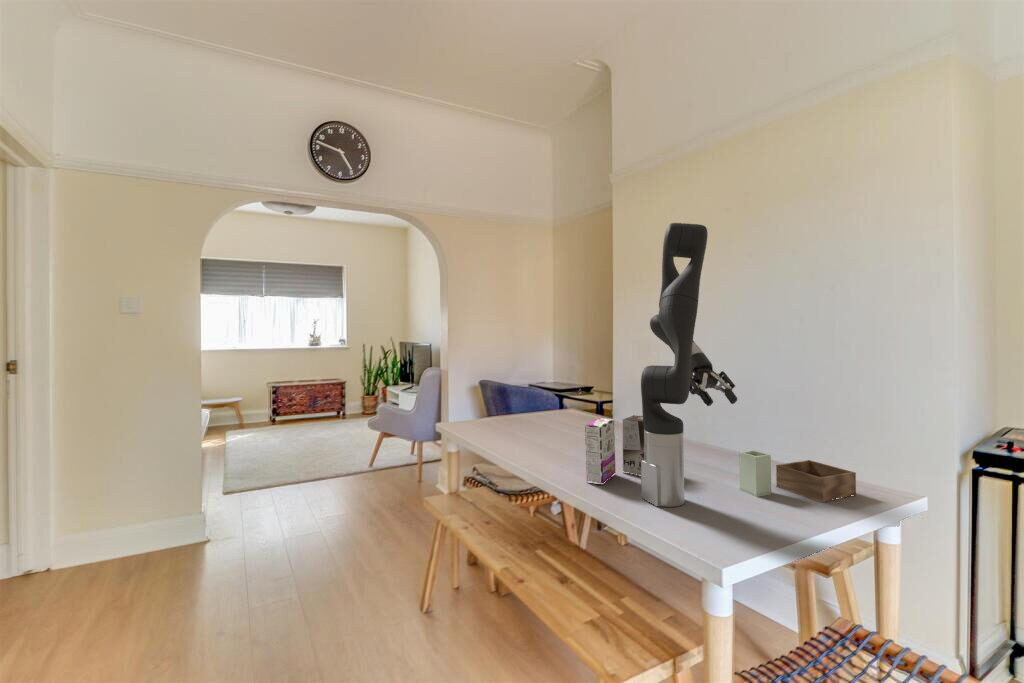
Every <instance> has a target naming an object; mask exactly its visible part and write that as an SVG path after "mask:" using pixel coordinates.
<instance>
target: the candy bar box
mask: <svg viewBox="0 0 1024 683" xmlns="http://www.w3.org/2000/svg"><path fill="white" fill-rule="evenodd" d="M584 428H585V431H584V432H585V455H586V456H585V460H586V461H585V462H586V463H585V464H586V482H587V481H592V482H597V483H604V482H605V481H606V480H607V479H609V478H610V477H611V476H612V475H613V474H614V473H616V450H615V449H616V446H615V442H616V441H615V440H616V439H615V438H616V437H615V419H613V418H605V417H604V418H603V417H602V418H600V417H599V418H597V419H595V420H593V421H591V422H589V423H587V424H585V425H584ZM609 480H610V479H609Z"/></svg>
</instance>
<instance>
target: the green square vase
mask: <svg viewBox="0 0 1024 683" xmlns="http://www.w3.org/2000/svg"><path fill="white" fill-rule="evenodd" d="M740 490H741V491H740ZM739 491H740V492H743V493H745V492H746V493H745V494H748V495H751V496H753V497H756V498H758V497H765V496H768V495H772V454H769V453H765V452H761V451H757V450H747V451H745V450H744V451H739Z"/></svg>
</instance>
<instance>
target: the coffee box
mask: <svg viewBox="0 0 1024 683" xmlns="http://www.w3.org/2000/svg"><path fill="white" fill-rule="evenodd" d="M642 460H644V422H643V415H634V414H633V415H631V416H629V417H625V418H623V419H622V472H623V471H624V472H629V473H633V474H637V475H641V461H642ZM637 475H636V476H637Z"/></svg>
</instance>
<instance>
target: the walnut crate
mask: <svg viewBox="0 0 1024 683" xmlns="http://www.w3.org/2000/svg"><path fill="white" fill-rule="evenodd" d="M775 476H776V488H778V489H782V490H785V491H787V490H788V492H790V491H791V492H790V493H792V494H793V493H794V494H797V495H799V496H801V495H802V497H803V498H807V499H811V500H813V501H816V502H818V501H820V502H819V503H821V502H822V503H825V502H824V501H827V502H829V501H828V500H832V499H836V498H841V497H847V496H851V495H856V494H857V477H856V476H857V473H856V472H854V471H851V470H847V469H844V468H841V467H836V466H832V465H829V464H825V463H822V462H817V461H813V460H810V459H806V460H800V461H794V462H787V463H780V464H776V474H775ZM856 496H857V495H856ZM847 498H848V497H847ZM832 501H833V500H832Z"/></svg>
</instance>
